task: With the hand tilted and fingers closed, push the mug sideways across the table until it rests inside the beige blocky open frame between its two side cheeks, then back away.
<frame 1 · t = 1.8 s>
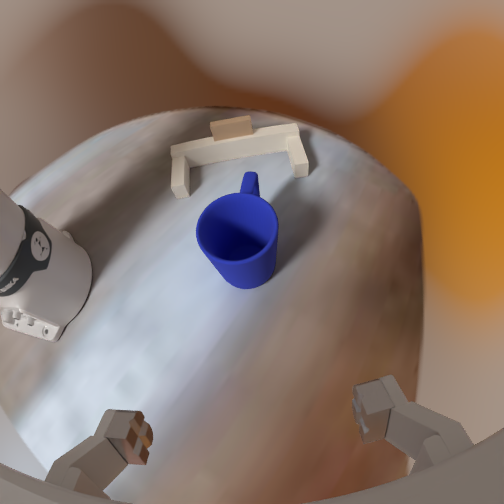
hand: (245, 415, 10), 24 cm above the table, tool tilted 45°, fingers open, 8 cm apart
beige blocky open frame: (237, 154, 47), on the table
mug: (251, 253, 39), on the table
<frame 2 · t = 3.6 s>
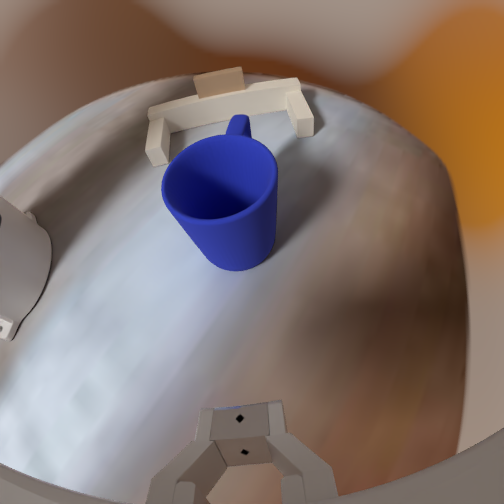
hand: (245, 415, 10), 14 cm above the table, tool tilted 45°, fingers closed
beige blocky open frame: (227, 115, 38), on the table
mug: (243, 226, 30), on the table
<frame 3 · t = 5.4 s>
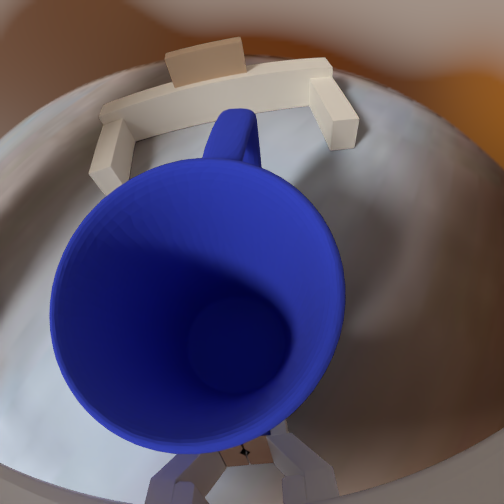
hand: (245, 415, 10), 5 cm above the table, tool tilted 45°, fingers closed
beige blocky open frame: (219, 113, 25), on the table
mug: (244, 314, 17), on the table, touching gripper
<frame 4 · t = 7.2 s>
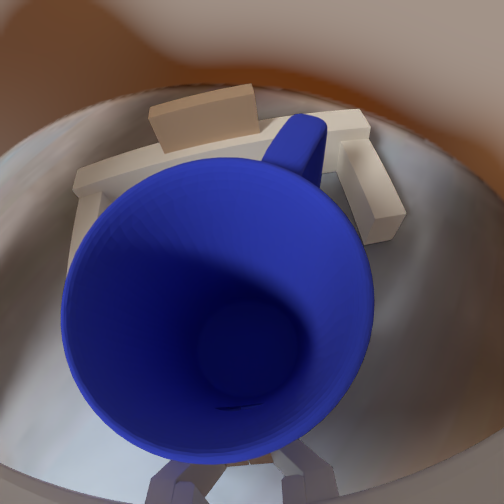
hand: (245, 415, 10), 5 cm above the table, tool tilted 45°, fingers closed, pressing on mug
beige blocky open frame: (223, 180, 21), on the table
mug: (264, 320, 17), on the table, touching gripper
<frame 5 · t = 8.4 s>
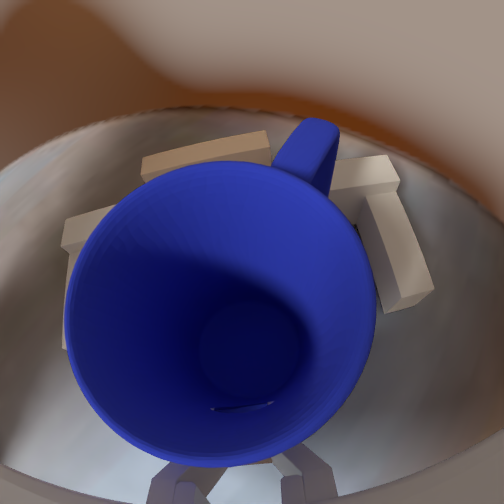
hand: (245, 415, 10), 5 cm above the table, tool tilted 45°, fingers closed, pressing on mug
beige blocky open frame: (229, 232, 19), on the table
mug: (267, 321, 17), on the table, touching gripper
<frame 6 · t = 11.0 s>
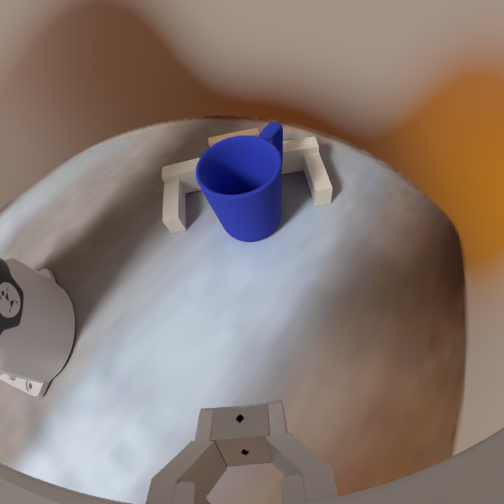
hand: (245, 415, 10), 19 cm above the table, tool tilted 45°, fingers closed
beige blocky open frame: (243, 175, 40), on the table
mug: (260, 209, 37), on the table
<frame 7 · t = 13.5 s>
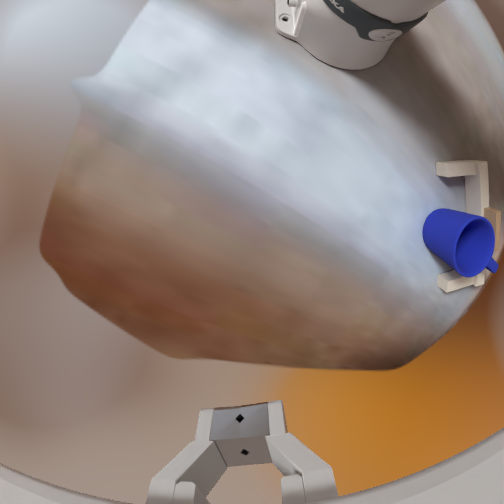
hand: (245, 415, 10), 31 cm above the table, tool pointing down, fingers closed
beige blocky open frame: (470, 220, 39), on the table
mug: (443, 234, 40), on the table
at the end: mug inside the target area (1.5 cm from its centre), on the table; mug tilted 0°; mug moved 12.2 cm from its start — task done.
